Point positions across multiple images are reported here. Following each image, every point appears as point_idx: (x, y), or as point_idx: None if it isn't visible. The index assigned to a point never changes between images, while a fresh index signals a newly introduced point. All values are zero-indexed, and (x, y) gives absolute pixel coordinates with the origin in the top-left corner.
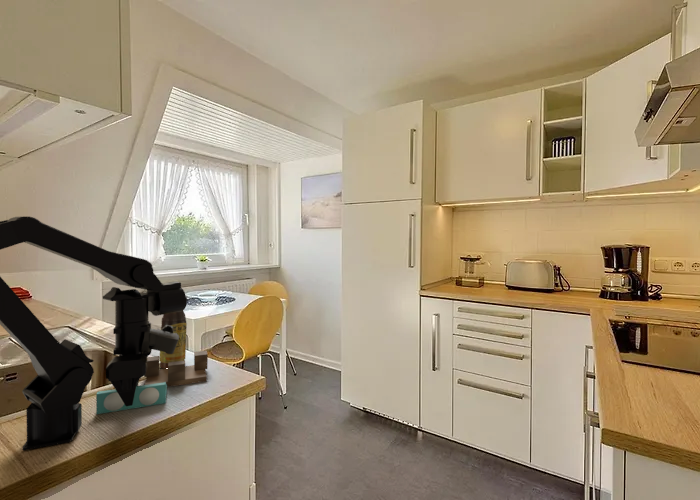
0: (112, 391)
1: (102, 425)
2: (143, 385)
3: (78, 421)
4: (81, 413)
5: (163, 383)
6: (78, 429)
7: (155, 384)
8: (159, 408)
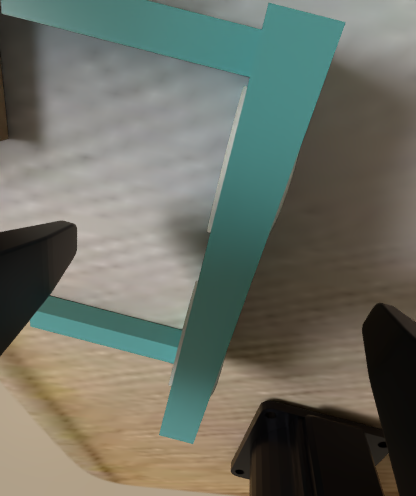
0: (204, 397)
1: (334, 354)
2: (214, 238)
3: (369, 467)
4: (320, 465)
5: (294, 45)
6: (360, 433)
7: (263, 139)
8: (361, 107)
